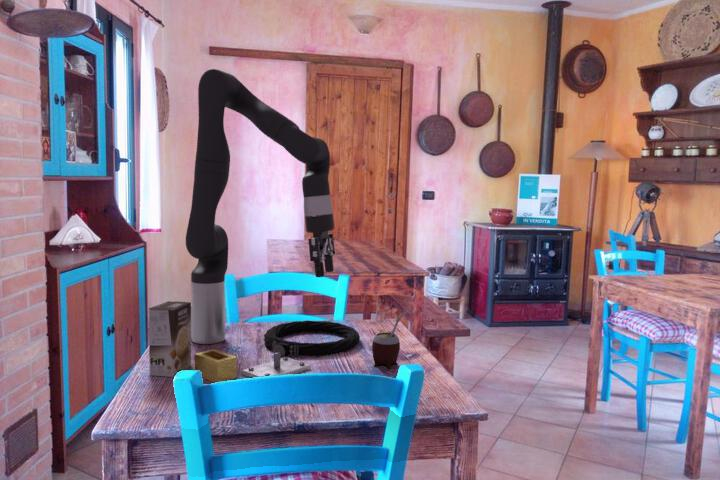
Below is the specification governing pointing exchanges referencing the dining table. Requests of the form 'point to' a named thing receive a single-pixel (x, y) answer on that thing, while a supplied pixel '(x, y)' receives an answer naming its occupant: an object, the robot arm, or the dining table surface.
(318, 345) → the cable lock
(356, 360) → the dining table surface
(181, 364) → the coffee box
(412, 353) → the dining table surface
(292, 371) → the plate
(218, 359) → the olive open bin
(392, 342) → the mate gourd
